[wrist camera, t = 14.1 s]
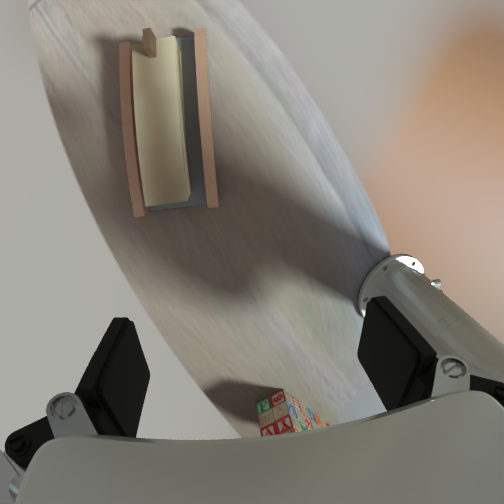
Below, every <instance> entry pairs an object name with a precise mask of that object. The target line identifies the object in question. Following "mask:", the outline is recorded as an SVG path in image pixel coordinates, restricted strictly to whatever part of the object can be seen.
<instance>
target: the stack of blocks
mask: <svg viewBox="0 0 504 504" xmlns="http://www.w3.org/2000/svg"><path fill="white" fill-rule="evenodd" d="M256 410H257V415H258V419H259V425H260V432H261V437H262V436H271V435H279V434H287V433H294V432H300V431H306V430H312V429H317V428H322V427H327V426H330V425H328V424H327V423H325V421H323V420H322V419H321V418H319V417H318V416H317V415H316V414H314V413H312V412H311V411H310V410H308V409H307V408H306V407H304V406H303V405H302V404H301V403H299V401H297V400H296V399H295V398H294V397H292V396H291V395H290V394H289V393H288V392H286V391H285V390H284V389H282V390H280V391H278V392H276V393H274V394H273V395H271V396H269V397H267V398H266V399H264V400H262V401H260V402H258V403H256Z"/></svg>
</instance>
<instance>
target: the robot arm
mask: <svg viewBox="0 0 504 504" xmlns="http://www.w3.org/2000/svg"><path fill="white" fill-rule="evenodd" d="M440 286H441V281H440V279H436V280H433V281H431V280H430V279H428V278H427V277H426V276H425V274H424V270H423V267H422V265H421V264H420V262H419V261H418V260H417V259H415V258H414V257H412V256H410V255H407V254H397V255H393V256H390V257H388V258H386V259H384V260H383V261H381V262H380V263H379V264H378V265H376V266H375V267H374V268H373V269H372V271H371V272H370V273H369V274H368V276H367V277H366V279H365V281H364V283H363V284H362V287H361V290H360V293H359V299H358V306H359V310H360V313H361V314H362V316H363V317H364V322H363V327H362V333H361V338H360V342H359V347H358V353H357V354H358V359H359V361H360V363H361V365H362V366H363V368H364V370H365V372H366V374H367V375H368V377H369V379H370V381H371V382H372V384H373V386H374V388H375V390H376V392H377V393H378V395H379V397H380V399H381V401H382V403H383V404H384V406H385V408H386V410H387V412H383V413H380V414H377V415H373V416H370V417H366V418H362V419H358V420H354V421H350V422H346V423H341V424H337V425H332V426H327V427H322V428H317V429H312V430H306V431H300V432H294V433H287V434H279V435H271V436H262V437H252V438H239V439H221V440H165V439H145V438H136V434H137V430H138V425H139V421H140V416H141V412H142V408H143V404H144V399H145V395H146V391H147V387H148V383H149V380H150V371H149V368H148V365H147V362H146V359H145V357H144V354H143V351H142V348H141V345H140V341H139V338H138V335H137V332H136V329H135V325H134V323H133V321H130V320H129V319H128V318H126V317H123V318H114V319H113V320H112V322H111V324H110V326H109V327H108V329H107V331H106V333H105V334H104V336H103V338H102V340H101V342H100V344H99V346H98V348H97V350H96V351H95V353H94V355H93V357H92V358H91V360H90V362H89V365H88V366H87V368H86V370H85V372H84V374H83V377H82V378H81V381H80V383H79V385H78V387H77V389H76V391H75V393H74V394H73V393H69V392H64V393H60V394H58V395H56V396H54V397H53V398H52V399H51V400H50V401H49V403H48V405H47V408H46V413H47V416H46V417H44V418H42V419H40V420H38V421H35V422H33V423H31V424H29V425H27V426H25V427H23V428H21V429H19V430H17V431H15V432H13V433H11V434H10V435H9V436H8V438H7V440H6V442H5V452H2V451H1V450H0V504H504V344H503V343H502V342H501V341H499V340H498V339H497V338H495V337H494V336H493V335H492V334H491V333H490V332H489V331H487V330H486V329H485V328H484V327H482V326H481V325H480V324H479V323H478V322H477V321H476V320H475V319H473V318H472V317H471V316H470V315H469V314H468V313H466V312H465V311H464V310H463V309H462V308H461V307H459V306H458V305H457V304H456V303H455V302H453V301H452V300H451V299H450V298H449V297H447V296H446V295H445V294H444V293H443V291H442V290H440V289H438V287H440Z"/></svg>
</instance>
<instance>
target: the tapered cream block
mask: <svg viewBox="0 0 504 504" xmlns="http://www.w3.org/2000/svg"><path fill="white" fill-rule="evenodd" d="M132 67H133V94H134V110H135V124H136V135H137V145H138V155H139V163H140V171H141V179H142V186H143V193H144V200H145V206H146V207H147V206H154V205H161V204H168V203H176V202H184V201H188V198H189V196H190V193H191V191H192V186H191V177H190V168H189V158H188V147H187V136H186V124H185V112H184V97H183V81H182V62H181V52H180V49H179V46H178V43H177V41H176V38H175V36H170V37H164V38H158V39H156V37H155V36H154V34H153V32H152V30H151V29H150V28H146V29H143V42H138V43H134V44H132Z"/></svg>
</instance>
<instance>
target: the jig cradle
mask: <svg viewBox="0 0 504 504" xmlns="http://www.w3.org/2000/svg"><path fill="white" fill-rule="evenodd" d="M176 41H177V43H178V46H179V49H180V52H181V62H182V81H183V97H184V112H185V124H186V136H187V147H188V158H189V168H190V177H191V186H192V191H191V193H190V196H189V198H188V201H184V202H176V203H168V204H161V205H154V206H147V207H146V206H145V200H144V193H143V186H142V179H141V171H140V163H139V155H138V145H137V135H136V124H135V110H134V94H133V67H132V43H131V42H130V41H126V42H122V43H119V86H120V107H121V121H122V133H123V143H124V153H125V161H126V169H127V177H128V184H129V190H130V197H131V203H132V209H133V215H134V218H136V217H143V216H145V215H146V214H147V212H150V211H157V210H165V209H172V208H180V207H188V206H197V205H205V204H207V207H208V208H215V207H219V203H218V192H217V182H216V171H215V159H214V148H213V136H212V123H211V109H210V95H209V80H208V64H207V46H206V28H203V29H194V36H187V37H179V38H176Z"/></svg>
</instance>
